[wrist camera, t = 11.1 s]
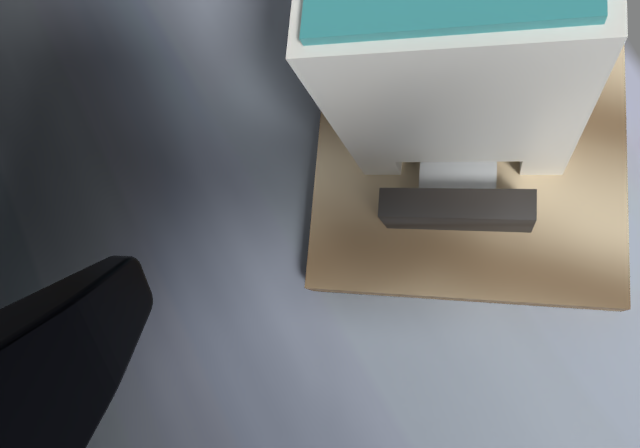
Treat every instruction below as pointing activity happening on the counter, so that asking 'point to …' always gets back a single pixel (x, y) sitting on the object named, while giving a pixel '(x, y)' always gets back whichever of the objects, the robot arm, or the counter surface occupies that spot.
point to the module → (456, 76)
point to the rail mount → (480, 224)
